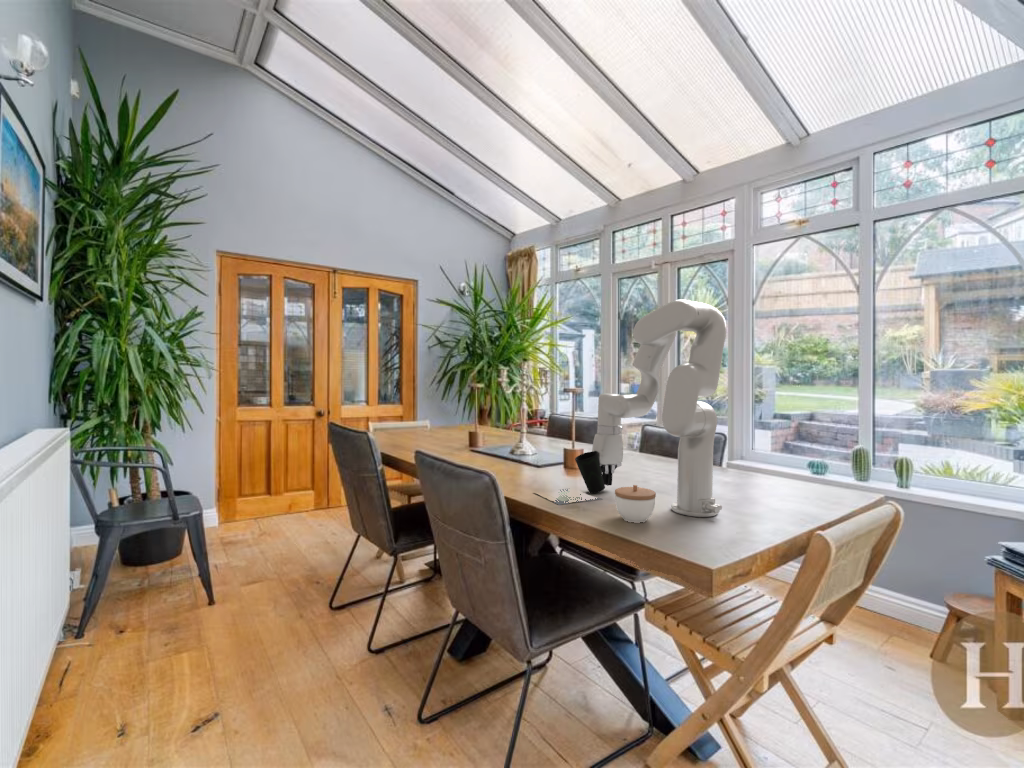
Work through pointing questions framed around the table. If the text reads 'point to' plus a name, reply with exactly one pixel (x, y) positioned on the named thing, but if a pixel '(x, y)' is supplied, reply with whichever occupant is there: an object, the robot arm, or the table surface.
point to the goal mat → (562, 499)
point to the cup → (591, 471)
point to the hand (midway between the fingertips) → (607, 484)
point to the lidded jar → (635, 503)
